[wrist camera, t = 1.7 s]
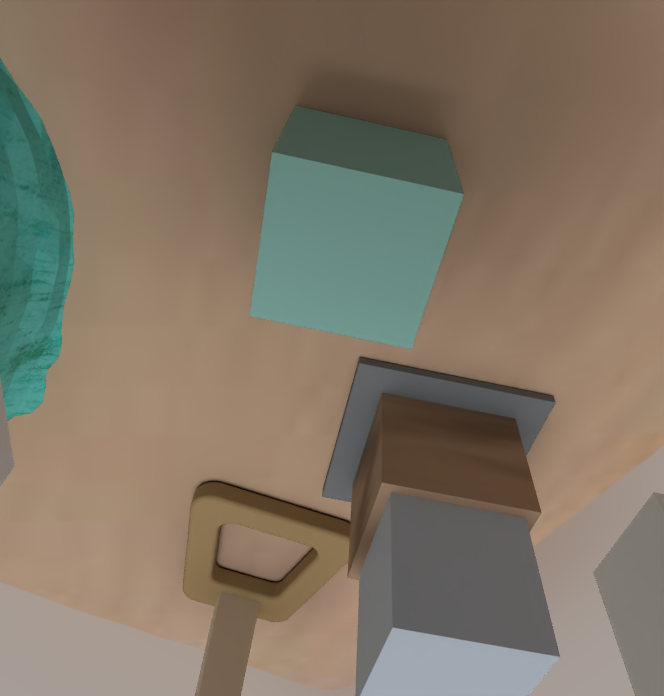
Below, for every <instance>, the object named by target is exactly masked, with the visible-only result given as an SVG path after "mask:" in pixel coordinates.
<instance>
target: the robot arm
mask: <svg viewBox="0 0 664 696" xmlns="http://www.w3.org/2000/svg"><path fill="white" fill-rule="evenodd" d="M13 467H14V460H13V454H12V447H11V441H10V435H9V429H8V423H7V417H6V411H5V405H4V398H3V392H2V386H1V380H0V486H1V484H2V483H3V482H4V480H5V479H6V477H7V476H8V474H9V473H10V472H11V470H12V469H13ZM594 576H595V579H596V581H597V585H598V588H599V591H600V593H601V596H602V599H603V602H604V605H605V608H606V611H607V614H608V617H609V620H610V623H611V626H612V629H613V632H614V635H615V638H616V640H617V643H618V646H619V649H620V652H621V655H622V658H623V661H624V664H625V667H626V670H627V672H628V675H629V679H630V682H631V685H632V688H633V691H634V693H635V696H664V494H659V493H653V494H652V496H651V497H650V498H649V499H648V501H647V502H646V504H645V505H644V506H643V508H642V509H641V510H640V511H639V513H638V514H637V515H636V517H635V518H634V519H633V521H632V522H631V523H630V525H629V526H628V527H627V529H626V530H625V531H624V533H623V534H622V535H621V537H620V538H619V539H618V541H617V542H616V543H615V544H614V546H613V547H612V548H611V550H610V551H609V553H608V554H607V555H606V557H605V558H604V559H603V560H602V562H601V563H600V564H599V566H598V567H597V568H596V570H595V571H594Z"/></svg>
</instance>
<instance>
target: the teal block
mask: <svg viewBox="0 0 664 696" xmlns="http://www.w3.org/2000/svg"><path fill="white" fill-rule="evenodd" d="M463 196H464V192H463V189H462V186H461V183H460V180H459V176H458V173H457V170H456V167H455V164H454V161H453V158H452V154H451V151H450V148H449V145H448V142H447V139H443V138H438V137H434V136H429V135H425V134H421V133H416V132H412V131H407V130H403V129H398V128H394V127H389V126H385V125H380V124H376V123H371V122H367V121H363V120H358V119H354V118H349V117H345V116H340V115H336V114H331V113H327V112H322V111H318V110H314V109H309V108H305V107H300V106H295V108H294V110H293V111H292V113H291V115H290V117H289V119H288V121H287V123H286V125H285V127H284V129H283V131H282V133H281V135H280V137H279V139H278V141H277V143H276V145H275V147H274V149H273V151H272V156H271V163H270V171H269V178H268V185H267V193H266V200H265V207H264V215H263V222H262V229H261V237H260V244H259V251H258V259H257V266H256V273H255V281H254V288H253V296H252V303H251V310H250V316H251V317H256V318H261V319H266V320H271V321H276V322H281V323H285V324H290V325H295V326H300V327H305V328H310V329H315V330H320V331H325V332H330V333H335V334H340V335H345V336H350V337H354V338H359V339H364V340H369V341H374V342H379V343H384V344H389V345H394V346H399V347H404V348H409V349H412V346H413V343H414V340H415V337H416V334H417V331H418V328H419V325H420V322H421V319H422V316H423V313H424V310H425V307H426V305H427V302H428V299H429V296H430V293H431V290H432V287H433V284H434V281H435V278H436V275H437V272H438V269H439V266H440V263H441V260H442V258H443V255H444V252H445V249H446V246H447V243H448V240H449V237H450V234H451V231H452V228H453V225H454V222H455V219H456V216H457V213H458V211H459V208H460V205H461V202H462V199H463Z"/></svg>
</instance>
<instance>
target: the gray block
mask: <svg viewBox="0 0 664 696" xmlns="http://www.w3.org/2000/svg"><path fill="white" fill-rule="evenodd" d="M559 658H560V655H559V651H558V646H557V643H556V639H555V634H554V631H553V626H552V622H551V618H550V614H549V610H548V606H547V602H546V598H545V594H544V590H543V586H542V582H541V578H540V574H539V569H538V565H537V561H536V557H535V554H534V549H533V545H532V541H531V537H530V533H529V529H528V525H527V521H526V518H523V517H518V516H513V515H507V514H502V513H497V512H491V511H486V510H481V509H475V508H470V507H465V506H460V505H454V504H449V503H444V502H438V501H433V500H428V499H422V498H417V497H412V496H407V495H401V494H396V493H390V495H389V498H388V501H387V503H386V506H385V508H384V511H383V514H382V516H381V519H380V522H379V524H378V527H377V529H376V532H375V535H374V537H373V540H372V543H371V545H370V548H369V551H368V553H367V556H366V558H365V561H364V564H363V566H362V569H361V572H360V581H359V609H358V637H357V666H356V695H355V696H528V695H529V694H530V692H531V691H532V690H533V689H534V688H535V686H536V685H537V684H538V683H539V682H540V680H541V679H542V678H543V677H544V676H545V674H546V673H547V672H548V671H549V670H550V669H551V667H552V666H553V665H554V664H555V663H556V661H557V660H558V659H559Z"/></svg>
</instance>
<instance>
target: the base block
mask: <svg viewBox="0 0 664 696" xmlns="http://www.w3.org/2000/svg"><path fill="white" fill-rule="evenodd" d="M390 493H396V494H401V495H407V496H412V497H417V498H422V499H428V500H433V501H438V502H444V503H449V504H454V505H460V506H465V507H470V508H475V509H481V510H486V511H491V512H497V513H502V514H507V515H513V516H518V517H523V518H526V521H527V525H528V529H529V532H530V530H531V529H532V527H533V526H534V524H535V522H536V521H537V519H538V518H539V516H540V514H541V509H540V506H539V502H538V498H537V495H536V491H535V487H534V484H533V480H532V477H531V473H530V469H529V466H528V462H527V459H526V455H525V451H524V448H523V444H522V440H521V437H520V433H519V430H518V426H517V422H516V419H515V418H510V417H505V416H499V415H494V414H489V413H484V412H479V411H474V410H469V409H464V408H459V407H454V406H449V405H444V404H439V403H434V402H429V401H424V400H419V399H414V398H408V397H403V396H398V395H393V394H388V393H383V392H382V394H381V397H380V400H379V403H378V406H377V409H376V413H375V416H374V419H373V422H372V425H371V428H370V431H369V434H368V438H367V441H366V444H365V447H364V450H363V453H362V456H361V460H360V463H359V466H358V469H357V472H356V475H355V478H354V481H353V486H352V504H351V523H350V541H349V560H348V578H352V579H358V580H360V572H361V569H362V566H363V564H364V561H365V558H366V556H367V553H368V551H369V548H370V545H371V543H372V540H373V537H374V535H375V532H376V529H377V527H378V524H379V522H380V519H381V516H382V514H383V511H384V508H385V506H386V503H387V501H388V498H389V495H390Z"/></svg>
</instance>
